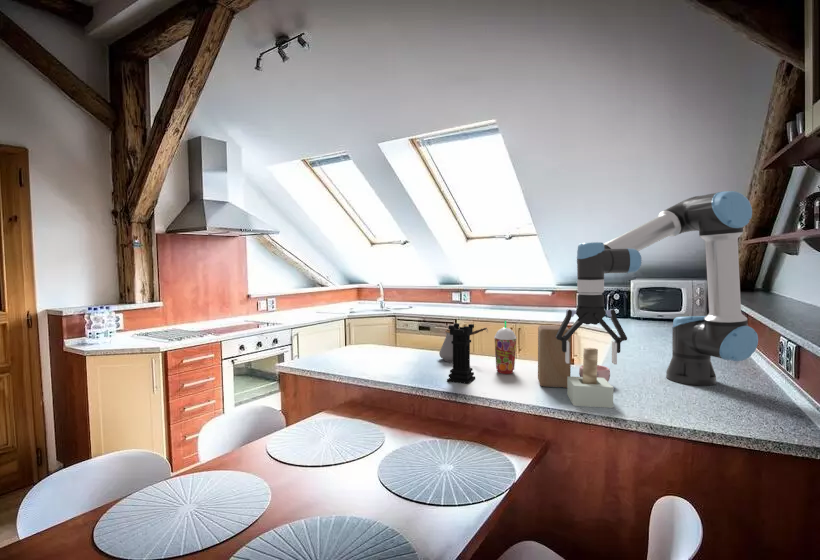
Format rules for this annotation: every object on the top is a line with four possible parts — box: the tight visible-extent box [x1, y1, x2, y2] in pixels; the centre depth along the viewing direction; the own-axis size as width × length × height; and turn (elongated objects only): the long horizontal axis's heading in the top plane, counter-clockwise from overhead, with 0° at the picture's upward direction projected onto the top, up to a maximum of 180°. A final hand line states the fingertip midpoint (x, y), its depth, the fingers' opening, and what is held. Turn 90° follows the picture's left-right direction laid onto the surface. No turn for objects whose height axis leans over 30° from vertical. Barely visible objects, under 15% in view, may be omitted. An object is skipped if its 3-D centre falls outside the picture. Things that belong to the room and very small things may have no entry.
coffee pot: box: [439, 327, 489, 363], centre depth 192 cm, size 21×12×15 cm, turn 66°
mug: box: [578, 364, 611, 382], centre depth 157 cm, size 12×10×6 cm
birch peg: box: [582, 347, 599, 384], centre depth 137 cm, size 4×4×15 cm
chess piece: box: [446, 322, 476, 385], centre depth 161 cm, size 8×8×20 cm
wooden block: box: [537, 324, 572, 389], centre depth 156 cm, size 10×10×20 cm
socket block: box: [566, 375, 614, 409], centre depth 137 cm, size 11×11×6 cm
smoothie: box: [494, 320, 517, 375], centre depth 172 cm, size 8×8×20 cm
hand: (590, 363), depth 137 cm, fingers open, 13 cm apart
